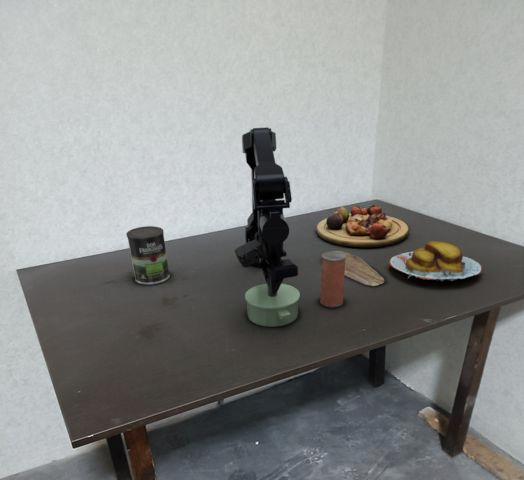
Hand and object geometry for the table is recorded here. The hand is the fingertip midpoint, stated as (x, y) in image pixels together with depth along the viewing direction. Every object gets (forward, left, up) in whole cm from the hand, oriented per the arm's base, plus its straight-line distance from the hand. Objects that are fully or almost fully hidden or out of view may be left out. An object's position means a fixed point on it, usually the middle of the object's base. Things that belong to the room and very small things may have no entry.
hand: (272, 291), depth 119 cm
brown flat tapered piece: (+10, +35, -7) cm, 37 cm away
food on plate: (+32, +42, -7) cm, 53 cm away
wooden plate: (+3, +67, -7) cm, 67 cm away
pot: (0, 0, -6) cm, 6 cm away
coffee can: (-43, +7, -7) cm, 44 cm away
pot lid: (0, 0, -1) cm, 1 cm away
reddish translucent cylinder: (+11, +12, -6) cm, 18 cm away
